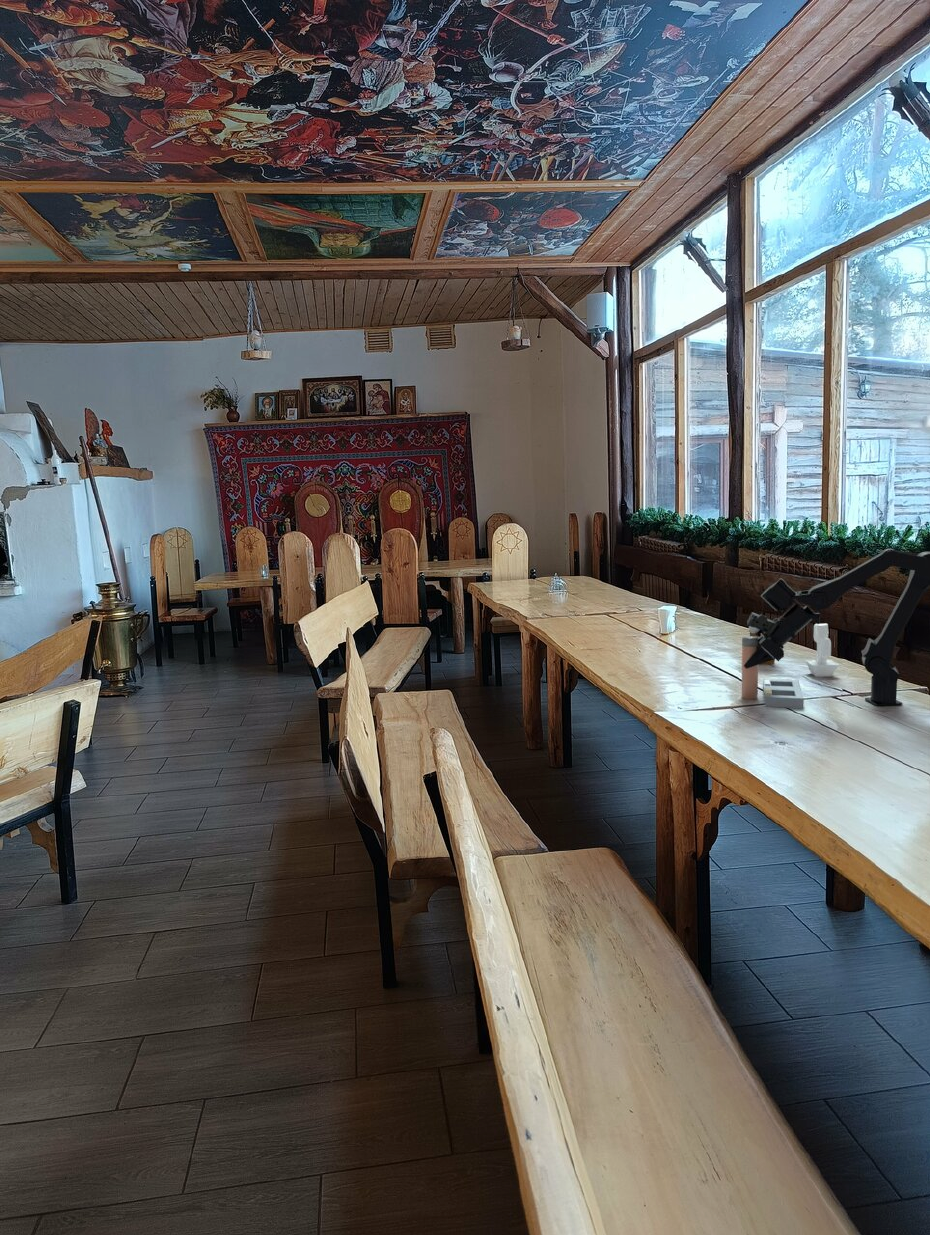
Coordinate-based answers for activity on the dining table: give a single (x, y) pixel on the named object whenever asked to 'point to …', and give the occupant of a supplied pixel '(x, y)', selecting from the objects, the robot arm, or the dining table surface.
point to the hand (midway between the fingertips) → (744, 665)
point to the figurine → (822, 653)
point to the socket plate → (782, 693)
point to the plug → (749, 669)
